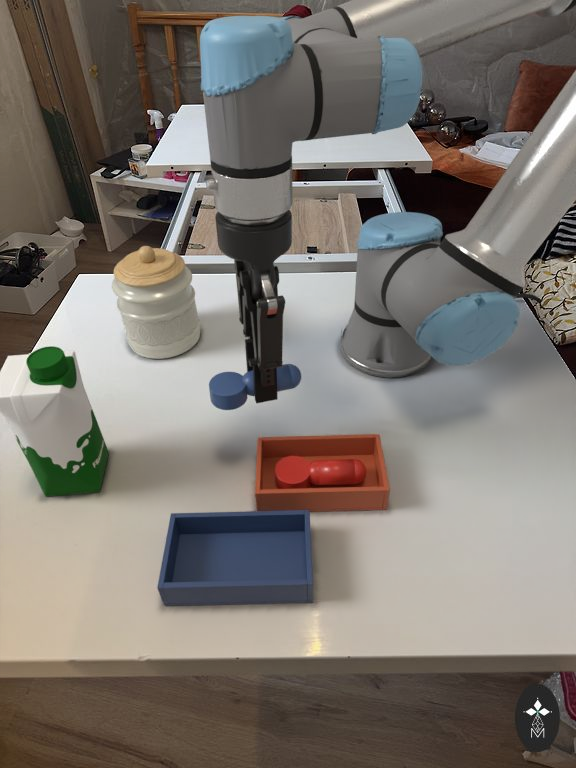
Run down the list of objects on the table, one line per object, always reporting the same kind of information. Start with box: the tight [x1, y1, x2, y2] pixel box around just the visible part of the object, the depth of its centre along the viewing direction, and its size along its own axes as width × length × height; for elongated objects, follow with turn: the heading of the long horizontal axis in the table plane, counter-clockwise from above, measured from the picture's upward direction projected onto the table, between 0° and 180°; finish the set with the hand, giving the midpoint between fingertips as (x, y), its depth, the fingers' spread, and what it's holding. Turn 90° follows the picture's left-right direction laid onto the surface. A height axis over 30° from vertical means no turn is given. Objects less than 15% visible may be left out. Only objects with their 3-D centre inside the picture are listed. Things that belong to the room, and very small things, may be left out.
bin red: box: [254, 433, 391, 513], centre depth 68 cm, size 16×9×4 cm, turn 91°
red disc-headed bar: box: [275, 456, 366, 489], centre depth 68 cm, size 12×5×3 cm, turn 91°
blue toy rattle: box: [208, 363, 302, 411], centre depth 66 cm, size 12×5×3 cm, turn 107°
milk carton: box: [0, 345, 110, 498], centre depth 65 cm, size 9×9×20 cm
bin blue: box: [156, 510, 314, 607], centre depth 60 cm, size 16×9×4 cm, turn 91°
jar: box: [111, 245, 202, 360], centre depth 89 cm, size 13×13×18 cm
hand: (262, 389), depth 67 cm, fingers closed on blue toy rattle, 3 cm apart
